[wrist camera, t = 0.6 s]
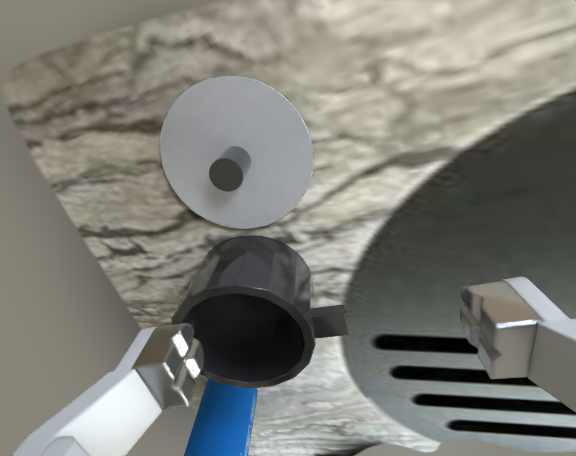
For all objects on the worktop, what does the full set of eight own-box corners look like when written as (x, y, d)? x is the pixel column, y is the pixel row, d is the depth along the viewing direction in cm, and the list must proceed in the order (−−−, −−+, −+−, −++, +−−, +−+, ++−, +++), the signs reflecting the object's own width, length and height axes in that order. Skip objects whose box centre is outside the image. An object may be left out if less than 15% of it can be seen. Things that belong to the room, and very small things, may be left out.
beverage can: (263, 398, 40) (247, 517, 30) (216, 401, 41) (184, 517, 31) (252, 365, 37) (230, 484, 27) (201, 369, 38) (161, 486, 28)
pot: (157, 249, 30) (115, 301, 24) (330, 221, 28) (337, 270, 21) (197, 334, 35) (172, 395, 29) (346, 316, 33) (356, 379, 26)
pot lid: (140, 95, 24) (105, 102, 19) (297, 56, 22) (294, 55, 18) (195, 232, 29) (177, 260, 25) (324, 211, 27) (327, 237, 23)
